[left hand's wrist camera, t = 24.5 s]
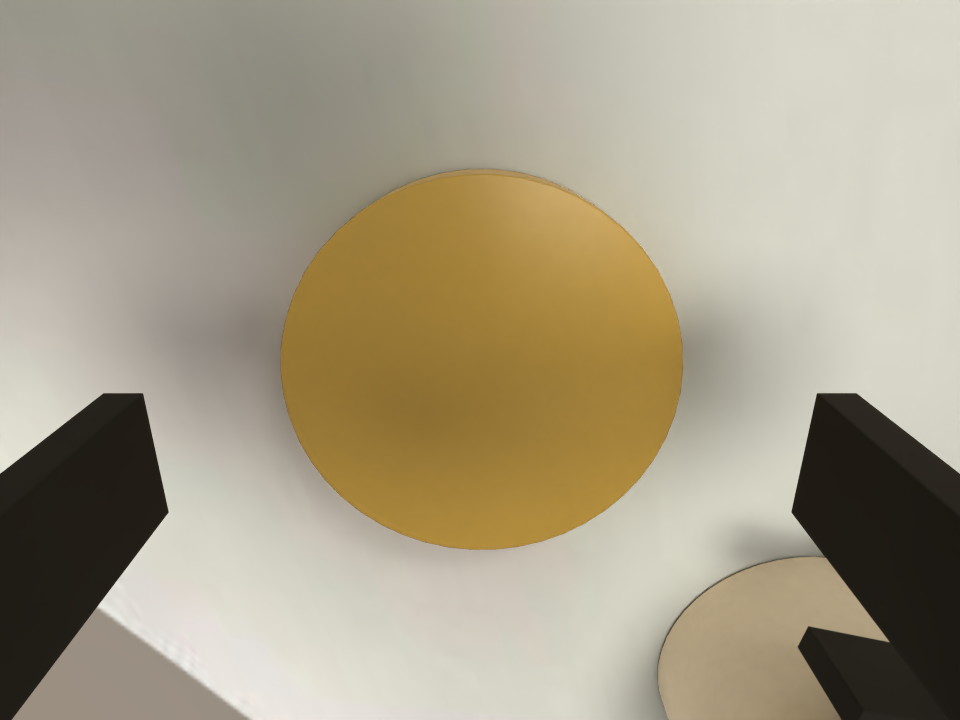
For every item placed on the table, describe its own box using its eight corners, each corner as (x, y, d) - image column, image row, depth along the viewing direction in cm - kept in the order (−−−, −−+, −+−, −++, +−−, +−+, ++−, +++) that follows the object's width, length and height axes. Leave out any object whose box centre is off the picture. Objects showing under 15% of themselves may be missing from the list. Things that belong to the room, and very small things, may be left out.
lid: (640, 129, 18) (660, 130, 16) (680, 480, 22) (700, 515, 20) (250, 213, 19) (223, 224, 17) (355, 537, 23) (343, 577, 21)
